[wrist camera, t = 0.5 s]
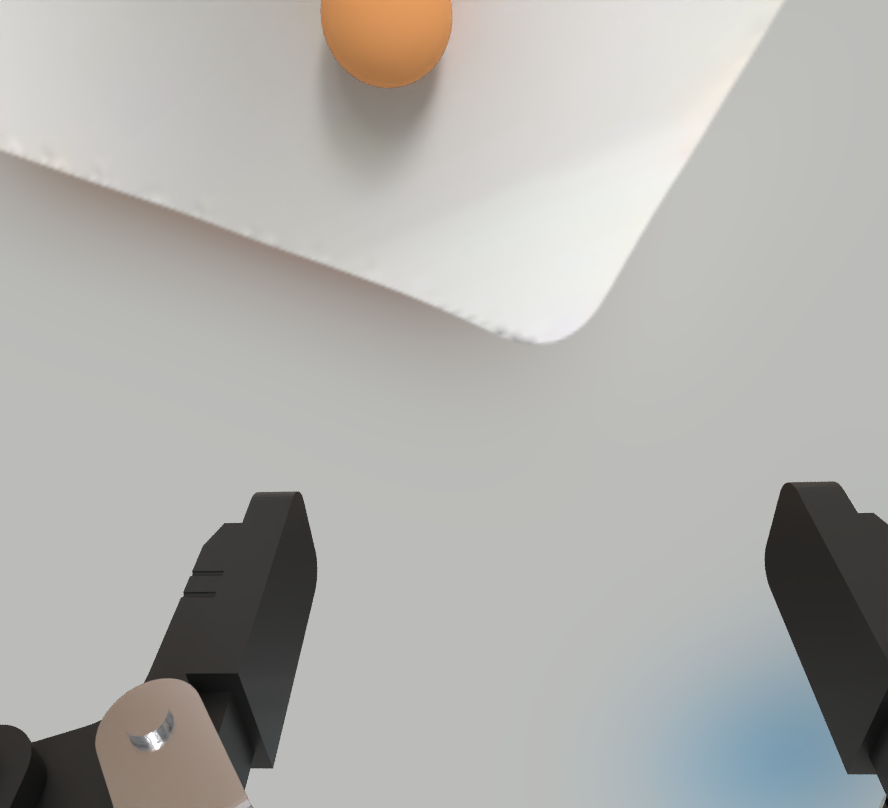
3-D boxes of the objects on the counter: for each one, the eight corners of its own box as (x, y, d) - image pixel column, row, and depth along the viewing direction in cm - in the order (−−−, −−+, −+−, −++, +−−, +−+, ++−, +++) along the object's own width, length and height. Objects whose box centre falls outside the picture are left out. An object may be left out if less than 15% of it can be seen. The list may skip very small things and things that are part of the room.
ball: (324, -62, 29) (298, -50, 25) (451, -70, 28) (446, -59, 24) (341, 74, 32) (320, 105, 28) (456, 68, 31) (453, 99, 27)
